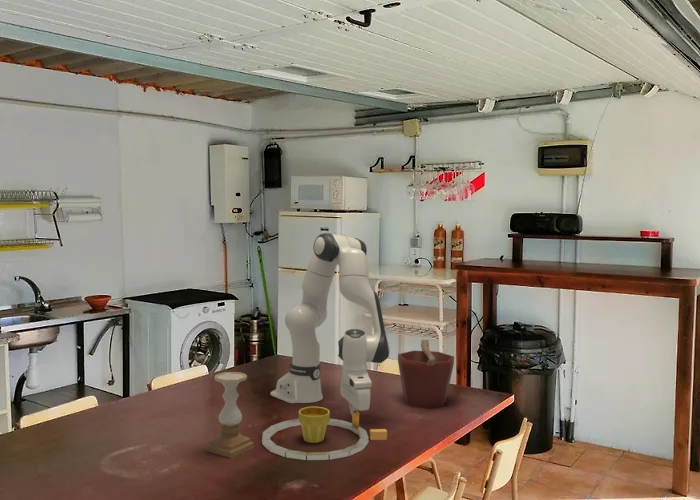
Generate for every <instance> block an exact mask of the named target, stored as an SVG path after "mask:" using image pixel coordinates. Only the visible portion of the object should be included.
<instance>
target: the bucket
mask: <svg viewBox="0 0 700 500" xmlns="http://www.w3.org/2000/svg"><path fill="white" fill-rule="evenodd" d="M420 347H421V350H411V351H406V352H401V353H398V354H397V364H398V369H399V377H400V382H401V388H402V394H403V399H404V401H405V403H406V404H407V406H411V407H416V408H422V409H432V408H441V407H443V406H444V405H445V404H446V400H447V396H448V393H449V388H450V382H451V378H452V373H453V369H454V364H455V356H454V355H450V354H447V353H444V352H441V351H433V350H432V351H431V349H430V343H429V339H421V342H420Z"/></svg>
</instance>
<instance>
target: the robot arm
mask: <svg viewBox="0 0 700 500" xmlns="http://www.w3.org/2000/svg"><path fill="white" fill-rule="evenodd" d="M367 252H368V249H367V244H366V243H365V241H363V240H361V239H360V238H358V237H352V236H348V235H345V234H344V235H343V234H334V233H330V232H328V233H327V232H324V233H320V234H319V235H318V236H317V237H316V238H315V240H314V242H313V253H312V255H311V257H310V259H309V262H308V265H307V268H306V271H305V275H304V278H303V281H302V285H301V289H302V299H301V303H300V304H298V305H296V306H293V307H292V308H291V309H289V310H288V312H287V313H285V314H286V315H285V318H284V324H285V327H286V328H287V330H288V331H289V334H290V339H291V346H292V359H291V360H292V362H291V364H287V367H286V368H289V370H288V372H287V373H285V374H284V375H283V376H281V377H280V378H279V379H278V380H277V382H276V388H275V389H274V390H272V391H271V392H270V396H272V397H274V398H277V399H279V400H282V401H284V402H286V403H289V404H297V403H298V404H308V403H316V402H319V401H321V400H323V399H324V396H323V392H322V383H321V369H322V367H321V363H320V355H321V354H320V350H321V346H320V342H318V338H317V334H316V328H318V327H320V326H321V325H322V324H323V323H324V322H325V321H326V319H327V317H328V311H327V306H328V298H329V292H330V288H331V286H332V282H333V279H334V276H335V271H336V268H337V266H338V267H339V268H338V285H339V292H340V294H341V295H342V297H343V298H345V299H346V300H347V301H349V302H351V303H353V304H356V305H359V306H361V307H362V308H365V309H366V310H368V312H369V313H370V317H371V318H370V319H371V322H372V329H373V332H374V333H373V334H371V335H368V334H367V333H366V332H365V331H364V330H362V329H359V328H351V329H348V330H346V331H345V332H344V335H343V336H342V337H340V339H339V340H338V341H337V342H338V354H337V357H339V358H340V360H341V361H343V363H342V365H341V379H340V390H339V391H340V395H341V397H343V398H344V399H345V400H346V401H347V402H348V406H349V410H350V411H349V412H350V415H351V416H352V412H355V411H357V412H359V411H361V412H362V411H369V409H370V406H371V405H370V404H371V388H372V385H373V384H372V383H373V382H372V380H371V378H370V376H369V373H368V364H367V363H376V364H382V363H383V362H385V361H386V360H387V359H388V358H389V355H390V349H391V348H390V344H389V343H390V342H389V341H388V338H387V337H388V336H387V334H386V328H385V324H384V318H383V312H382V308H381V307H382V306H381V303H380V299H379V295H378V294H377V292H376V291H374V290H373V288H372V286H371V284H370V282H369V281H370V280H369V265H368V261H367V259H368V258H367Z"/></svg>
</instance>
